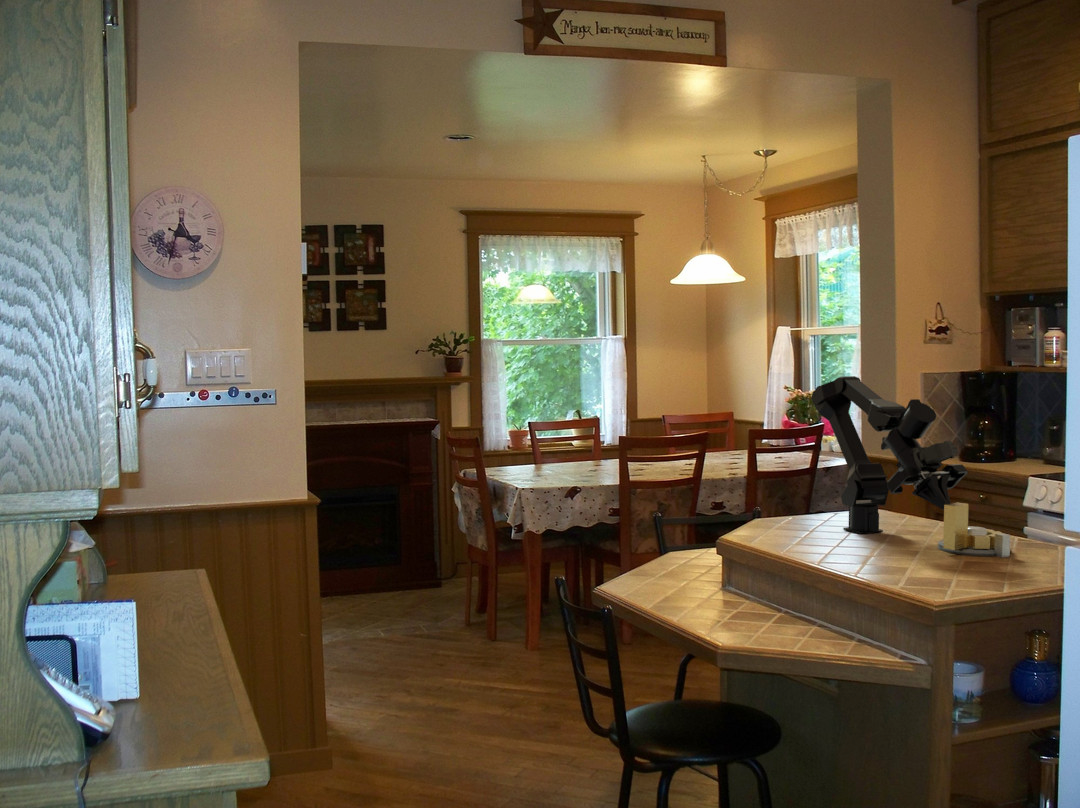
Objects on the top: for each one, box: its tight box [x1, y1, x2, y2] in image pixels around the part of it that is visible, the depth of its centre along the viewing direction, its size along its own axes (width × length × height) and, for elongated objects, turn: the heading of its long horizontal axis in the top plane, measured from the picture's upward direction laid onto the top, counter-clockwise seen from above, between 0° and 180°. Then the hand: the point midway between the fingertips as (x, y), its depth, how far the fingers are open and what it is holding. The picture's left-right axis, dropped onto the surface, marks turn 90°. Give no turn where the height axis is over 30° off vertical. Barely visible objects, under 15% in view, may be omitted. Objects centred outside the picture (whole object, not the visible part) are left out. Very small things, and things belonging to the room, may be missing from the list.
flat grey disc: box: [937, 525, 1011, 559], centre depth 216 cm, size 16×14×4 cm
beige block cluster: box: [942, 502, 1003, 550], centre depth 215 cm, size 11×16×9 cm
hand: (949, 510), depth 213 cm, fingers closed
